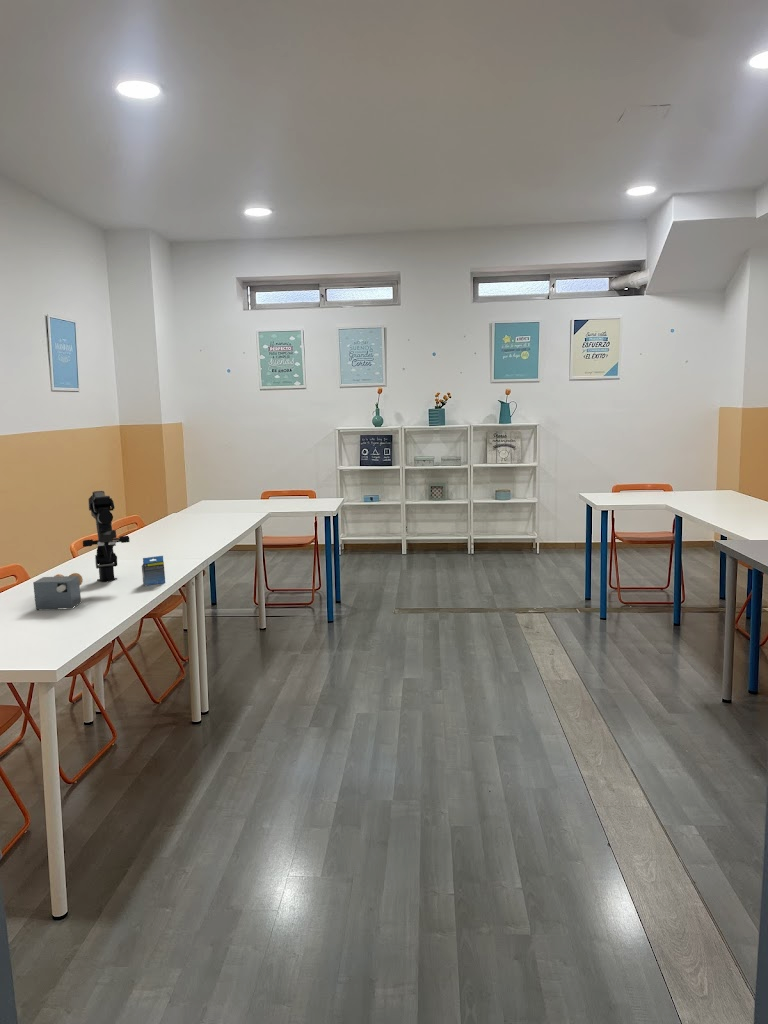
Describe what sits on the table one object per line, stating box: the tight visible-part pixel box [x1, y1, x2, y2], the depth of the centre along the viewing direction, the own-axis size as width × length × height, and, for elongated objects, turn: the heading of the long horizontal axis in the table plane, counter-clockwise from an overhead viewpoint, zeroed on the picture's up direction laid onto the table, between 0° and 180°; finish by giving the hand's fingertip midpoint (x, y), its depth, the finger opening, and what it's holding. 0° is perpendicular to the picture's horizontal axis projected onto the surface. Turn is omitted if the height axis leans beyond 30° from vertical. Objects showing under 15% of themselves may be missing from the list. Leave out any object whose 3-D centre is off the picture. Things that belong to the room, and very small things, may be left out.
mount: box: [33, 574, 82, 610], centre depth 296 cm, size 13×14×11 cm
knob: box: [57, 572, 84, 593], centre depth 294 cm, size 16×6×6 cm, turn 1°
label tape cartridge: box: [141, 555, 166, 586], centre depth 327 cm, size 9×4×12 cm, turn 119°
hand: (108, 561), depth 321 cm, fingers closed
